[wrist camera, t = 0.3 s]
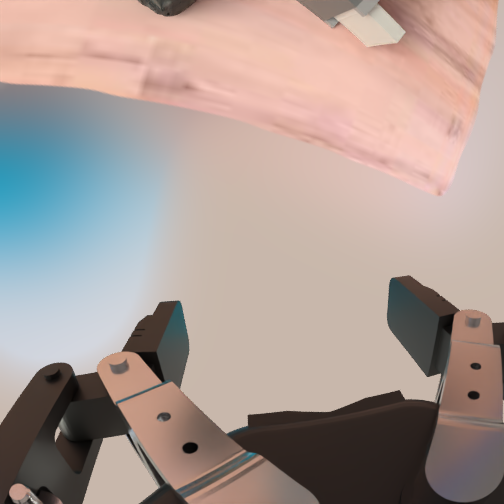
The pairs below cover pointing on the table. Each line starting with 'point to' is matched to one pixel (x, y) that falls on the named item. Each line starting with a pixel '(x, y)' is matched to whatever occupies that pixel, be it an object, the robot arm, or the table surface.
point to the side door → (372, 26)
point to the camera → (167, 6)
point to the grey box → (337, 8)
